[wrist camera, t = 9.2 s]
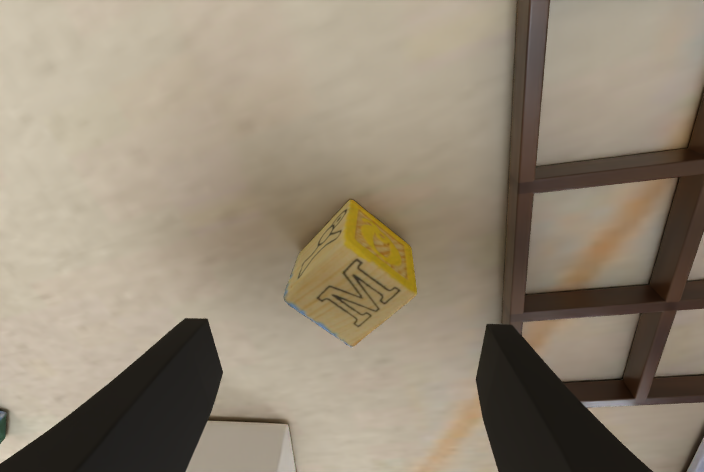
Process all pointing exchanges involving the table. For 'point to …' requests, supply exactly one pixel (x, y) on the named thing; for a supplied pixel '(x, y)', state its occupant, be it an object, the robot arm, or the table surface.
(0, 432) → the crayon box
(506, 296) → the frame
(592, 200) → the table surface
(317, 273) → the alphabet block
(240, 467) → the milk carton
